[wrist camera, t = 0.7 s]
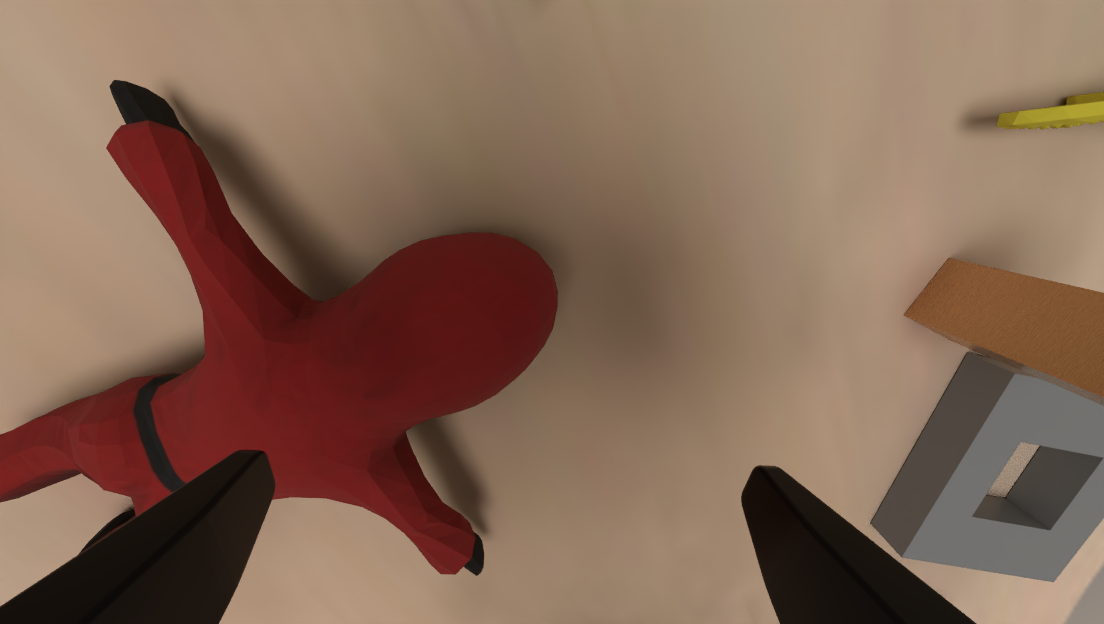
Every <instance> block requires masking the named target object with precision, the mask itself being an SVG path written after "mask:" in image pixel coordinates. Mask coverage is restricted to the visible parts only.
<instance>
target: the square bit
mask: <svg viewBox="0 0 1104 624" xmlns="http://www.w3.org/2000/svg"><path fill="white" fill-rule="evenodd" d="M904 315H905V316H906V317H908V318H910V319H912V320H914V321H916V322H918V323H919V324H921V325H923V326H925V327H927V328H929V329H930V330H932V331H934V332H936V333H938V334H940V335H942V336H943V337H945V338H947V339H949V340H951V341H953V342H955V343H958V344H960V345H962V346H965V347H967V348H969V349H972V350H974V351H976V352H979V353H981V354H983V355H986V356H988V357H990V358H993V359H995V360H997V361H1000V362H1002V363H1004V364H1007V365H1009V366H1012V367H1014V368H1016V369H1019V370H1021V371H1023V372H1026V373H1028V374H1030V375H1033V376H1035V377H1037V378H1040V379H1042V380H1044V381H1047V382H1049V383H1051V384H1054V385H1056V386H1058V387H1061V388H1063V389H1065V390H1068V391H1070V392H1072V393H1075V394H1077V395H1080V396H1082V397H1084V398H1087V399H1089V400H1091V401H1094V402H1096V403H1098V404H1101V405H1103V406H1104V293H1102V292H1098V291H1093V290H1089V289H1084V288H1080V287H1075V286H1071V285H1067V284H1062V283H1058V282H1053V281H1049V280H1044V279H1040V278H1035V277H1031V276H1027V275H1022V274H1018V273H1013V272H1009V271H1004V270H1000V269H995V268H991V267H987V266H982V265H978V264H973V263H969V262H964V261H960V260H955V259H951V258H948V260H947V261H946V262H945V264H944V265H943V266H942V267H941V269H940V270H939V271H938V272H937V274H936V275H935V276H934V278H933V279H932V280H931V281H930V283H929V284H928V285H927V286H926V288H925V289H924V290H923V291H922V293H921V294H920V295H919V297H918V298H917V299H916V300H915V302H914V303H913V304H912V305H911V307H910V308H909V309H908V310H907V312H906V313H905V314H904Z"/></svg>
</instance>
